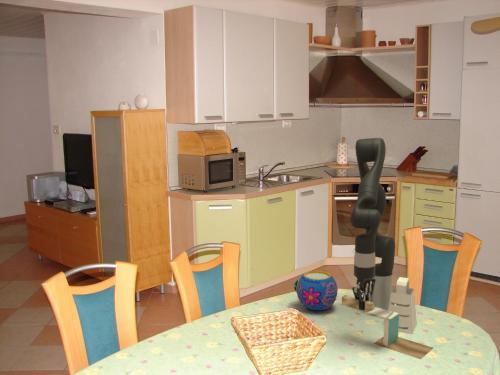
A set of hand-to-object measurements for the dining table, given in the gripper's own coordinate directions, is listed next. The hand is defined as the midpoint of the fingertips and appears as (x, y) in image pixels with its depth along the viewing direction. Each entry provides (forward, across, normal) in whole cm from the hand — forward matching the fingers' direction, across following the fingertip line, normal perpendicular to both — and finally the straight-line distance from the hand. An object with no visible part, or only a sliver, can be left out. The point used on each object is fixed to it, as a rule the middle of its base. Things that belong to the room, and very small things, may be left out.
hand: (363, 308), depth 193 cm
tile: (+13, -5, +8) cm, 16 cm away
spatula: (0, 0, +1) cm, 1 cm away
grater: (+14, -20, +6) cm, 25 cm away
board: (+14, -5, +13) cm, 20 cm away
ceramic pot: (+14, -17, -32) cm, 38 cm away
